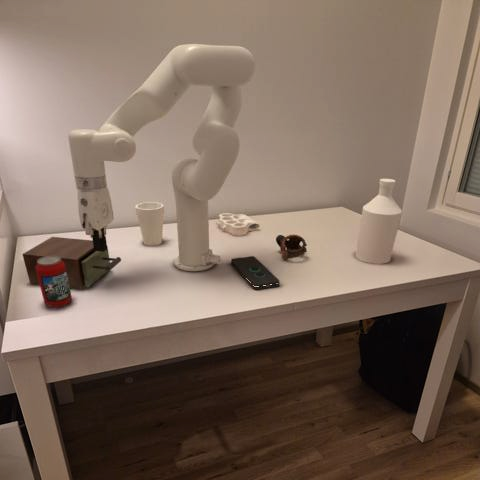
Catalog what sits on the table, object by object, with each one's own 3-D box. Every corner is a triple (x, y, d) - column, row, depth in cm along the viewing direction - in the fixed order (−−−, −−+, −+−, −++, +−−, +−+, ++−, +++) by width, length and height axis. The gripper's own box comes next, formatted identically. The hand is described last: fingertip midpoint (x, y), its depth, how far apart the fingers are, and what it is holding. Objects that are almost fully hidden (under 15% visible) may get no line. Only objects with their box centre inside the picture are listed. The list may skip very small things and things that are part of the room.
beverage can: (54, 311, 105) (43, 267, 99) (39, 303, 109) (28, 260, 103) (77, 301, 110) (69, 259, 104) (62, 294, 114) (53, 252, 107)
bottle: (362, 247, 147) (375, 174, 134) (396, 255, 142) (413, 179, 129) (349, 258, 139) (361, 180, 126) (384, 267, 133) (401, 187, 120)
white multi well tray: (263, 232, 159) (227, 237, 154) (244, 219, 173) (210, 222, 168) (263, 224, 157) (227, 228, 152) (244, 211, 171) (210, 214, 166)
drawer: (127, 269, 126) (124, 247, 122) (107, 288, 115) (103, 264, 111) (65, 263, 129) (61, 241, 125) (40, 281, 118) (34, 257, 114)
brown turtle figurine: (311, 255, 142) (313, 239, 135) (295, 273, 139) (296, 258, 131) (282, 239, 146) (283, 223, 139) (266, 256, 143) (266, 241, 136)
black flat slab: (254, 285, 117) (229, 258, 133) (253, 290, 117) (229, 263, 133) (280, 280, 119) (254, 255, 135) (280, 286, 120) (253, 260, 136)
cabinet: (106, 269, 128) (101, 241, 123) (82, 289, 116) (76, 259, 111) (58, 264, 131) (52, 236, 126) (30, 283, 119) (22, 254, 114)
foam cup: (133, 244, 146) (129, 207, 139) (148, 236, 154) (145, 200, 147) (157, 248, 143) (154, 211, 136) (171, 240, 151) (168, 204, 144)
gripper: (90, 190, 100) (100, 261, 110) (117, 177, 113) (125, 242, 122) (61, 187, 101) (74, 258, 111) (92, 175, 114) (101, 240, 123)
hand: (100, 250), depth 116 cm, fingers closed
